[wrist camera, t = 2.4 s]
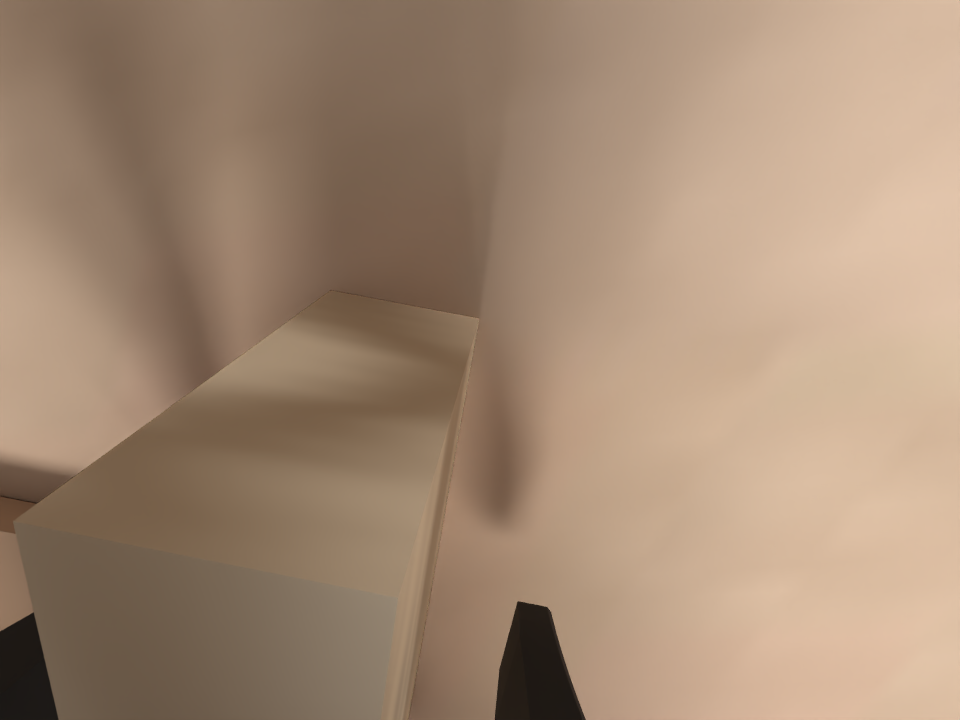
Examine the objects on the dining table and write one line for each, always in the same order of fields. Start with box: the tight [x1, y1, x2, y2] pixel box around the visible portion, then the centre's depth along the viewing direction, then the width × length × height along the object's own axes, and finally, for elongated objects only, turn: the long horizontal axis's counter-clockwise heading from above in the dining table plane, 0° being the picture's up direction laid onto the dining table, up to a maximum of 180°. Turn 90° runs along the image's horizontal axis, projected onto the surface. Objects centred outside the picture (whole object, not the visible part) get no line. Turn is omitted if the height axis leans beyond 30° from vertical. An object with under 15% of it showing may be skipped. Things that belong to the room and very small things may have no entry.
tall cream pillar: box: [13, 290, 479, 720], centre depth 10 cm, size 3×12×7 cm, turn 171°
